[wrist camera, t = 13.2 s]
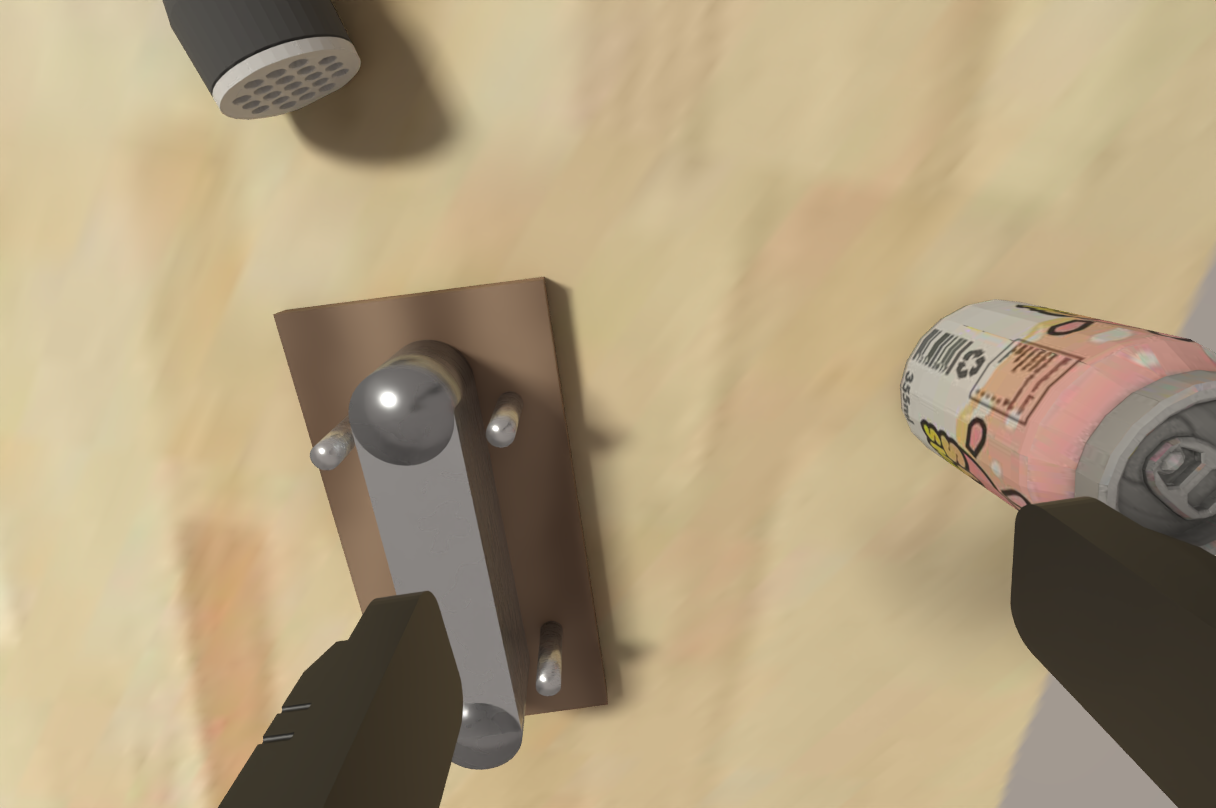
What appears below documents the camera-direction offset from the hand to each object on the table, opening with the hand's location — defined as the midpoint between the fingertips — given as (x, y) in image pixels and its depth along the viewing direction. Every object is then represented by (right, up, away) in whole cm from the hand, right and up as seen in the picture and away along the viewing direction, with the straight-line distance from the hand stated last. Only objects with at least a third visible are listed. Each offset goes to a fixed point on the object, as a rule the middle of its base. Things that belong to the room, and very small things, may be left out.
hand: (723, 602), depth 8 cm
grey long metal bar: (-9, -4, +22) cm, 24 cm away
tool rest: (-9, -3, +23) cm, 25 cm away
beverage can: (+17, +4, +23) cm, 29 cm away
